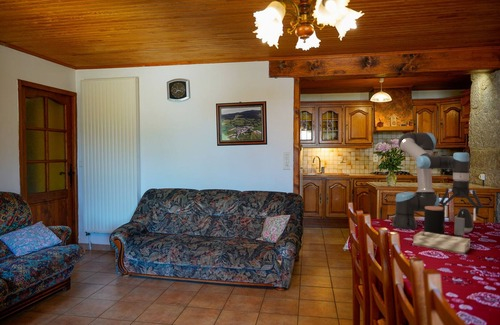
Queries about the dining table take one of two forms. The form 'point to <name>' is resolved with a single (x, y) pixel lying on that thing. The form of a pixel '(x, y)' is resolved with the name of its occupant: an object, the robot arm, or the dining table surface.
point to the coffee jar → (434, 220)
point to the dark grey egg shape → (466, 219)
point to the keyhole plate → (442, 242)
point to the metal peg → (459, 226)
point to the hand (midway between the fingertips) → (460, 218)
